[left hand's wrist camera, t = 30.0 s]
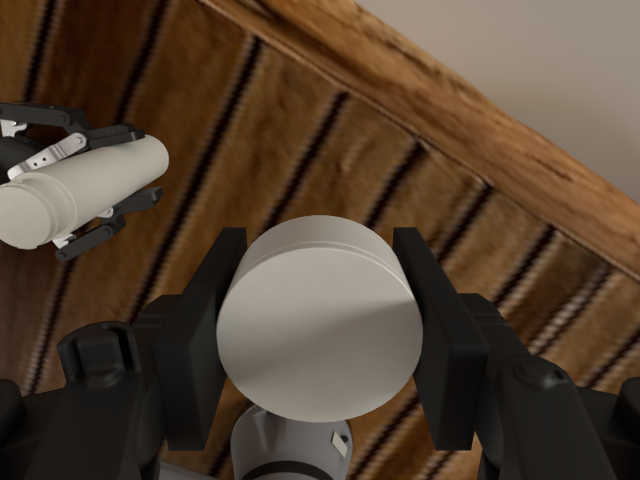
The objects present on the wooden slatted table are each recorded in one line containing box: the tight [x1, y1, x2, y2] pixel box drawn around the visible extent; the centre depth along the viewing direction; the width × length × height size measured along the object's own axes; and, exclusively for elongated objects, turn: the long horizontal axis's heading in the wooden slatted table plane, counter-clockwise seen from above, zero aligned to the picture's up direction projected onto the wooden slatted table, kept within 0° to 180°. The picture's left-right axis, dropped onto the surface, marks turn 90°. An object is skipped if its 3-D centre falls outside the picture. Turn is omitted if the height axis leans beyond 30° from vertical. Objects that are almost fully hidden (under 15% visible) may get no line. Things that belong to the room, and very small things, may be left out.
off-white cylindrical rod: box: [0, 135, 169, 249], centre depth 31 cm, size 4×4×18 cm
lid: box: [216, 215, 423, 422], centre depth 11 cm, size 5×5×2 cm
